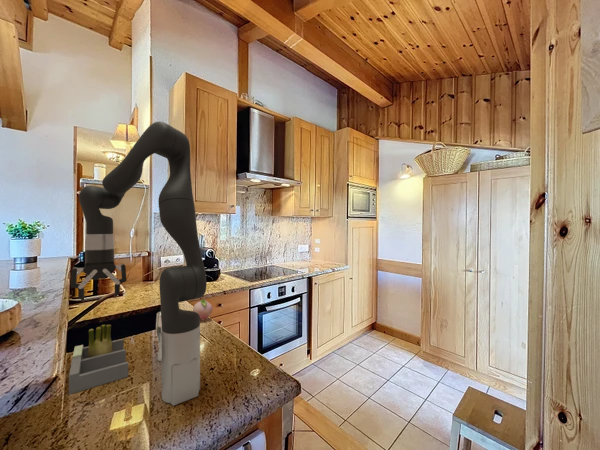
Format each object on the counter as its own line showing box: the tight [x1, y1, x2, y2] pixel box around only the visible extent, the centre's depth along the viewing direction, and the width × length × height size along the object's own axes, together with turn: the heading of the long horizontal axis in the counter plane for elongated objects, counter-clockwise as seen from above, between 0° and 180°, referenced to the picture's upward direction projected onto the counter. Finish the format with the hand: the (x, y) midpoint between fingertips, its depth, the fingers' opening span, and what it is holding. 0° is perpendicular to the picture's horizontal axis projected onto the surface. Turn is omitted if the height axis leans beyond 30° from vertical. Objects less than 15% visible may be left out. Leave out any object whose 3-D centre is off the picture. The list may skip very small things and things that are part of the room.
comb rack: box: [68, 338, 129, 395], centre depth 80 cm, size 21×13×5 cm, turn 38°
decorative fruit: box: [192, 298, 213, 321], centre depth 121 cm, size 9×8×10 cm
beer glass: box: [155, 311, 162, 362], centre depth 87 cm, size 7×7×15 cm
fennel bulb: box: [88, 324, 113, 358], centre depth 83 cm, size 6×5×12 cm
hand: (99, 297), depth 84 cm, fingers open, 8 cm apart
